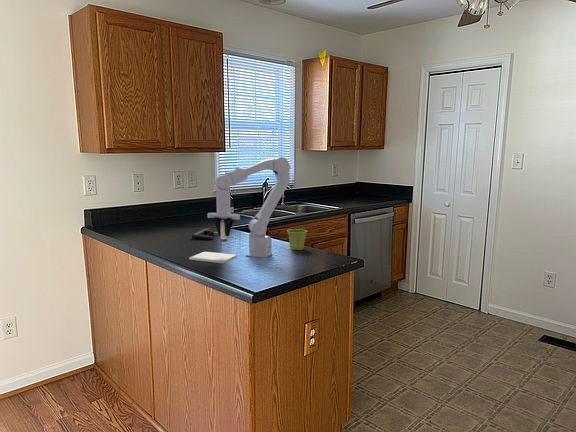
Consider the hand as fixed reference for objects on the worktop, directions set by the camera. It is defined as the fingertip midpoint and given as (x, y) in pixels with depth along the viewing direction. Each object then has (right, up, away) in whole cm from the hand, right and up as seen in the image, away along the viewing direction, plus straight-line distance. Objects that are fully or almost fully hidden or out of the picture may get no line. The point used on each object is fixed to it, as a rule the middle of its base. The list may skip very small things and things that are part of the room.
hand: (223, 235), depth 181 cm
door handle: (-14, -3, +45) cm, 47 cm away
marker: (0, -2, 0) cm, 2 cm away
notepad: (-4, -10, -1) cm, 11 cm away
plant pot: (+31, -7, +18) cm, 37 cm away
